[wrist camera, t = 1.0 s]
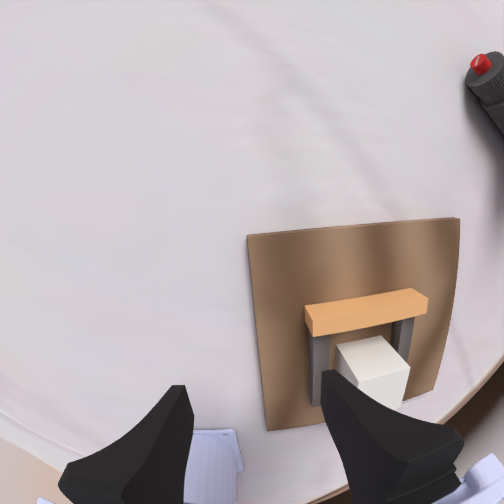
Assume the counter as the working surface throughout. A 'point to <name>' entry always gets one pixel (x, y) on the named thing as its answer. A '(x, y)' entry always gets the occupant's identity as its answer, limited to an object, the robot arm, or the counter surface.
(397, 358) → the white block
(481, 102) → the laser sight
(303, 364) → the base board
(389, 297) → the bar
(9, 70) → the counter surface
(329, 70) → the counter surface
